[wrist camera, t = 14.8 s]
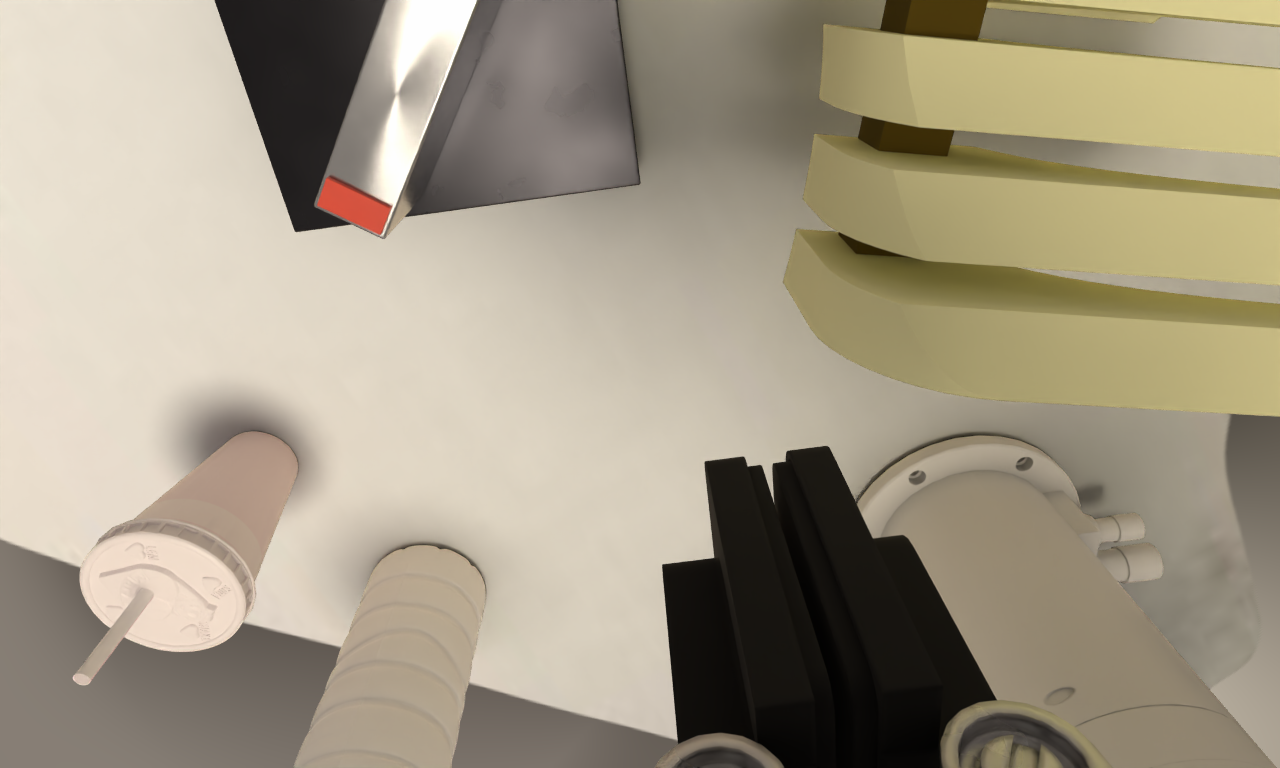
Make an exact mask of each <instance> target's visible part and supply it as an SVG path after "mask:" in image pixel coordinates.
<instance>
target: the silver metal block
mask: <svg viewBox="0 0 1280 768" xmlns="http://www.w3.org/2000/svg"><path fill="white" fill-rule="evenodd" d="M501 2H502V0H385V1H384V4H383V7H382V10H381V13H380V16H379V19H378V21H377V24H376V27H375V30H374V33H373V36H372V39H371V42H370V45H369V47H368V50H367V53H366V56H365V59H364V62H363V65H362V68H361V71H360V73H359V76H358V79H357V82H356V85H355V88H354V91H353V94H352V97H351V99H350V102H349V105H348V108H347V111H346V114H345V117H344V120H343V123H342V125H341V128H340V131H339V134H338V137H337V140H336V143H335V146H334V149H333V151H332V154H331V157H330V160H329V163H328V166H327V169H326V172H325V175H324V177H323V180H322V183H321V186H320V189H319V192H318V195H317V198H316V201H315V203H314V206H315V207H316V208H318V209H320V210H322V211H324V212H327V213H329V214H331V215H333V216H335V217H337V218H339V219H342V220H344V221H346V222H348V223H350V224H352V225H354V226H356V227H359V228H361V229H363V230H365V231H367V232H369V233H371V234H374V235H376V236H378V237H380V238H382V239H385V238H386V237H387V236H388V235H389V234H390V232H391V231H392V230H393V229H394V228H395V227H396V226H397V225H398V224H399V222H400V221H401V220H402V219H403V218H404V217H405V216H406V215H407V213H408V212H409V211H410V210H411V209H412V208H413V207H414V206H415V205H416V203H417V202H418V201H419V200H420V199H421V198H422V196H423V193H424V191H425V188H426V186H427V184H428V181H429V179H430V176H431V174H432V171H433V169H434V166H435V164H436V161H437V159H438V157H439V154H440V152H441V149H442V147H443V144H444V142H445V139H446V137H447V134H448V132H449V130H450V127H451V125H452V122H453V120H454V117H455V115H456V112H457V110H458V107H459V105H460V103H461V100H462V98H463V95H464V93H465V90H466V88H467V85H468V83H469V80H470V78H471V76H472V73H473V71H474V68H475V66H476V63H477V61H478V58H479V56H480V53H481V51H482V49H483V46H484V44H485V41H486V39H487V36H488V34H489V31H490V29H491V26H492V24H493V21H494V19H495V17H496V14H497V12H498V9H499V7H500V4H501Z"/></svg>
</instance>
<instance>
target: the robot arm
mask: <svg viewBox="0 0 1280 768" xmlns="http://www.w3.org/2000/svg"><path fill="white" fill-rule="evenodd" d="M772 469H773V489H774V502H773V499H772V496H771V493H770V490H769V486H768V483H767V480H766V477H765V474H764V471H763V468H762V466H761V465H757V466H749V467H747V463H746V460H745V457H736V458H728V459H720V460H712V461H705V474H706V483H707V493H708V502H709V511H710V520H711V530H712V539H713V548H714V558H711V559H703V560H695V561H687V562H679V563H671V564H663V565H662V570H663V582H664V593H665V604H666V615H667V626H668V637H669V648H670V659H671V670H672V681H673V692H674V703H675V715H676V726H677V737H678V744H677V745H676V746H675V747H674V748H673V749H671V750H670V751H669V752H668V753H666V754H665V755H664V756H663V757H662V758H661V759H660V760H659V762H658V764H657V765H656V766H655V768H1276V766H1275V765H1274V764H1273V763H1272V762H1271V761H1270V760H1269V758H1268V757H1267V756H1266V755H1265V754H1264V753H1263V751H1262V750H1261V749H1260V748H1259V747H1258V746H1257V744H1256V743H1255V742H1254V741H1253V740H1252V739H1251V738H1250V736H1249V735H1248V734H1247V733H1246V732H1245V730H1244V729H1243V728H1242V727H1241V726H1240V725H1239V723H1238V722H1237V721H1236V720H1235V719H1234V717H1233V716H1232V715H1231V714H1230V713H1229V712H1228V710H1227V709H1226V708H1225V707H1224V706H1223V705H1222V704H1221V702H1220V701H1219V700H1218V699H1217V698H1216V696H1215V695H1214V694H1213V693H1212V692H1211V691H1210V689H1209V688H1208V687H1207V686H1206V685H1205V684H1204V682H1203V681H1202V680H1201V679H1200V678H1199V676H1198V675H1197V674H1196V673H1195V672H1194V671H1193V669H1192V668H1191V667H1190V666H1189V665H1188V664H1187V662H1186V661H1185V660H1184V659H1183V658H1182V657H1181V655H1180V654H1179V653H1178V652H1177V651H1176V650H1175V648H1174V647H1173V646H1172V645H1171V644H1170V642H1169V641H1168V640H1167V639H1166V638H1165V637H1164V635H1163V634H1162V633H1161V632H1160V631H1159V630H1158V628H1157V627H1156V626H1155V625H1154V624H1153V623H1152V621H1151V620H1150V619H1149V618H1148V617H1147V616H1146V614H1145V613H1144V612H1143V611H1142V610H1141V609H1140V607H1139V606H1138V605H1137V604H1136V603H1135V601H1134V600H1133V599H1132V598H1131V597H1130V596H1129V594H1128V593H1127V592H1126V591H1125V590H1124V589H1123V587H1122V586H1121V585H1120V584H1119V583H1118V582H1121V583H1131V582H1140V581H1148V580H1156V579H1159V578H1161V577H1162V574H1163V572H1164V570H1163V561H1162V558H1161V556H1160V553H1159V552H1158V550H1157V549H1156V548H1155V546H1153V545H1152V544H1150V543H1141V544H1133V545H1125V546H1116V547H1111V549H1107V550H1099V551H1098V549H1099V546H1100V543H1103V542H1111V541H1114V542H1121V541H1129V540H1138V539H1143V537H1144V536H1145V526H1144V522H1143V520H1142V519H1141V517H1140V516H1139V515H1138V514H1136V513H1128V514H1120V515H1112V516H1107V517H1106V518H1098V519H1094V518H1093V517H1092V516H1091V515H1087V514H1084V513H1083V512H1082V511H1081V505H1080V502H1079V498H1078V494H1077V491H1076V488H1075V487H1074V485H1073V484H1072V482H1071V480H1070V479H1069V477H1068V475H1067V474H1066V473H1065V472H1064V471H1063V470H1062V469H1061V468H1060V466H1059V465H1058V464H1057V463H1056V462H1055V461H1054V460H1053V459H1052V458H1050V457H1049V456H1048V455H1046V454H1045V453H1044V452H1042V451H1041V450H1040V449H1038V448H1036V447H1033V446H1031V445H1029V444H1027V443H1024V442H1022V441H1019V440H1015V439H1010V438H1006V437H1001V436H979V435H977V436H969V437H961V438H954V439H950V440H947V441H943V442H940V443H936V444H933V445H930V446H928V447H925V448H923V449H921V450H919V451H917V452H914V453H912V454H910V455H908V456H907V457H905V458H904V459H902V460H901V461H899V462H897V463H896V464H894V465H893V466H891V467H890V468H889V469H887V470H886V471H885V472H884V473H883V474H882V475H881V476H880V477H879V478H877V479H876V480H875V481H874V482H873V483H872V484H871V486H870V487H869V488H868V489H867V491H866V492H865V493H864V494H863V496H862V497H861V498H860V500H859V501H858V503H857V504H856V502H855V500H854V498H853V496H852V493H851V491H850V489H849V487H848V485H847V483H846V481H845V479H844V477H843V475H842V472H841V470H840V468H839V466H838V464H837V462H836V460H835V458H834V456H833V454H832V452H831V450H830V448H829V447H828V446H822V447H814V448H806V449H798V450H790V451H787V453H786V462H780V463H773V468H772Z"/></svg>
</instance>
